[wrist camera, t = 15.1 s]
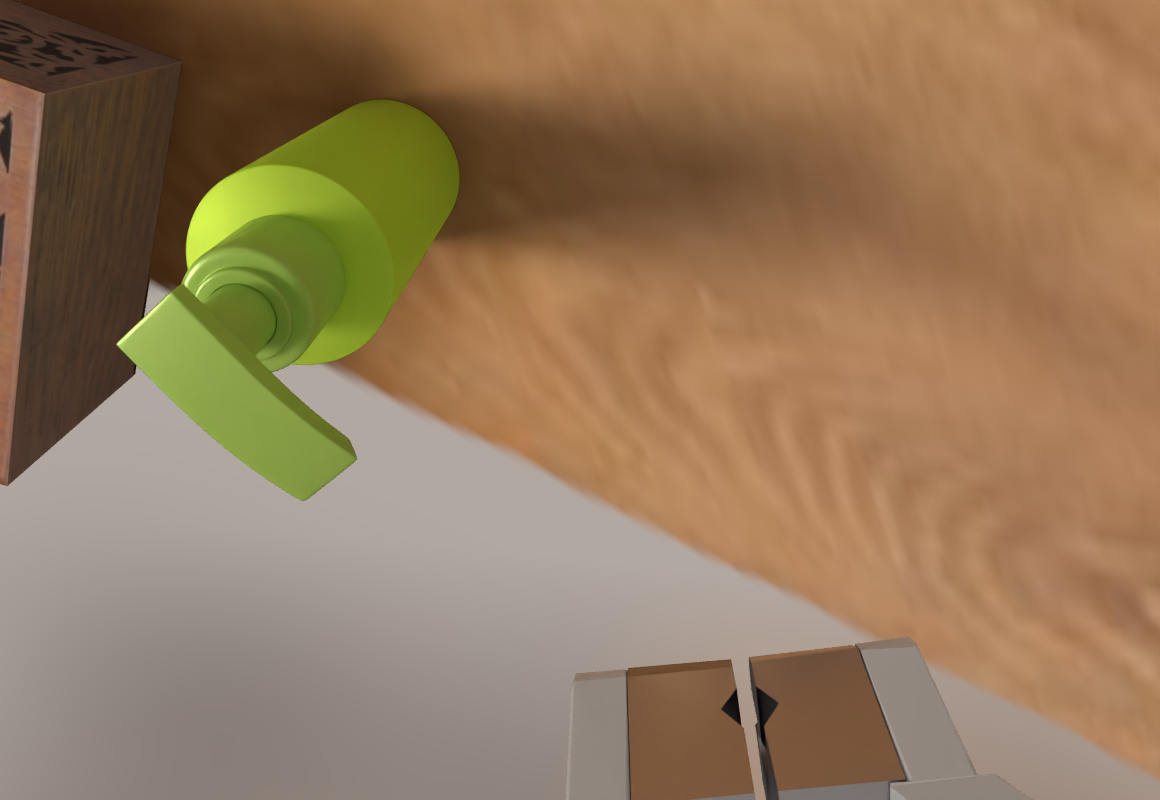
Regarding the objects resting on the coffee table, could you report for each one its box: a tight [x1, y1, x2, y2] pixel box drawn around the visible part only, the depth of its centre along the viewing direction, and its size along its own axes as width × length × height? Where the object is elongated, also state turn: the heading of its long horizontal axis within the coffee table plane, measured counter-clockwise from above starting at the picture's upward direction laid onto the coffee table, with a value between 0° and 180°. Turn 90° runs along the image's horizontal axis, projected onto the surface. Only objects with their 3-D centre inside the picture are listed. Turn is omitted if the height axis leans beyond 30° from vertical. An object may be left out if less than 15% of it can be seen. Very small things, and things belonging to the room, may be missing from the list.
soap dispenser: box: [116, 100, 460, 501], centre depth 29 cm, size 6×7×20 cm
